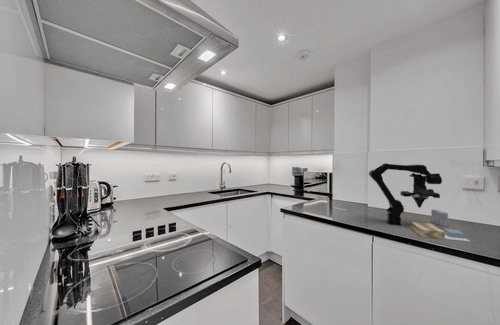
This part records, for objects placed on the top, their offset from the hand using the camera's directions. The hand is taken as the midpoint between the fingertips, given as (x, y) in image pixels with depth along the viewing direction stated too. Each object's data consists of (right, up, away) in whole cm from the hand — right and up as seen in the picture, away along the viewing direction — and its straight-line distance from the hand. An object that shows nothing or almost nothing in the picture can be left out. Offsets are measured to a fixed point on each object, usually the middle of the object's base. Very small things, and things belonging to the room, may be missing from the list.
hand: (419, 207), depth 124 cm
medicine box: (+16, -12, +3) cm, 20 cm away
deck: (-7, -12, -12) cm, 18 cm away
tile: (+4, -9, -17) cm, 20 cm away
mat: (+3, -12, -16) cm, 20 cm away
